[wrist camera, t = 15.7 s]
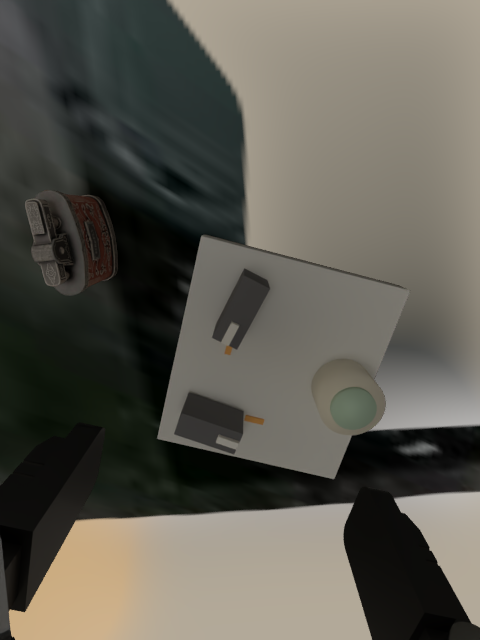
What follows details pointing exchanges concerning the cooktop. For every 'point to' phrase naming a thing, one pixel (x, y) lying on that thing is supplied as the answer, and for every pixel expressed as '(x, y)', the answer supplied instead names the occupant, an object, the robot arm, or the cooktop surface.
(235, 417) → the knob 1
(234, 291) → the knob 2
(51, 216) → the lighter
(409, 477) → the cooktop surface
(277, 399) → the base plate
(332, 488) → the cooktop surface
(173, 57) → the cooktop surface
